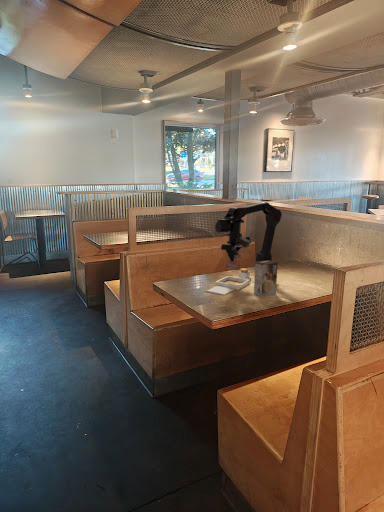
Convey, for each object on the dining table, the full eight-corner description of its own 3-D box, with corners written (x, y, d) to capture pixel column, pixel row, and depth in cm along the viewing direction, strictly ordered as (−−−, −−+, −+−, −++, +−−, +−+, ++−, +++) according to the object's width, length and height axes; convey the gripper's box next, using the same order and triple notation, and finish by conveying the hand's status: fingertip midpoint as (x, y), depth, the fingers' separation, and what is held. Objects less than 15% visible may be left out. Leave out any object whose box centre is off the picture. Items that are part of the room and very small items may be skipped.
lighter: (240, 269, 190) (242, 250, 189) (237, 270, 187) (239, 250, 186) (227, 267, 195) (229, 248, 194) (224, 267, 192) (226, 249, 191)
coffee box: (267, 290, 184) (269, 259, 181) (276, 294, 179) (278, 262, 175) (253, 293, 180) (254, 261, 176) (261, 296, 174) (263, 264, 171)
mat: (233, 290, 184) (233, 289, 184) (224, 295, 176) (224, 294, 175) (216, 286, 189) (216, 285, 189) (206, 291, 181) (206, 290, 181)
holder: (255, 279, 203) (256, 272, 202) (238, 289, 185) (239, 281, 184) (233, 275, 210) (234, 268, 209) (215, 285, 192) (215, 277, 191)
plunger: (249, 276, 204) (249, 269, 203) (246, 278, 200) (246, 270, 199) (242, 275, 206) (242, 267, 205) (238, 277, 202) (239, 269, 201)
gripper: (241, 235, 175) (239, 266, 179) (256, 230, 191) (254, 259, 194) (220, 233, 181) (220, 263, 185) (237, 228, 197) (236, 256, 200)
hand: (233, 260), depth 191 cm, fingers closed on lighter, 3 cm apart
